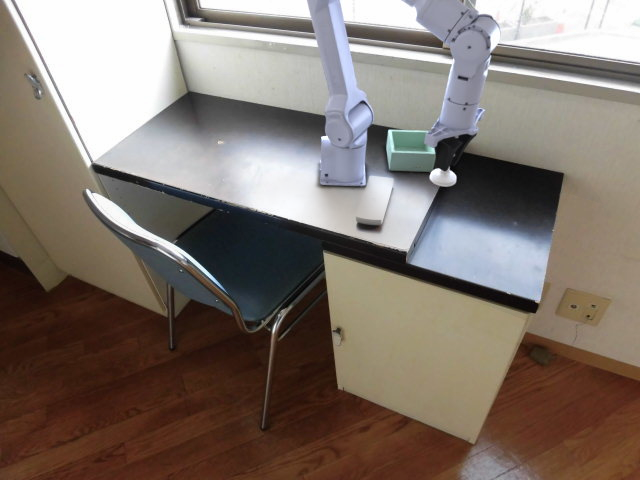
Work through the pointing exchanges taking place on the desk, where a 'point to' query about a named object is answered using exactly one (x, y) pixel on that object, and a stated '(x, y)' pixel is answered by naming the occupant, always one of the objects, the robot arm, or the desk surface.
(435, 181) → the chess piece
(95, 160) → the desk surface
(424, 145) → the open storage box
